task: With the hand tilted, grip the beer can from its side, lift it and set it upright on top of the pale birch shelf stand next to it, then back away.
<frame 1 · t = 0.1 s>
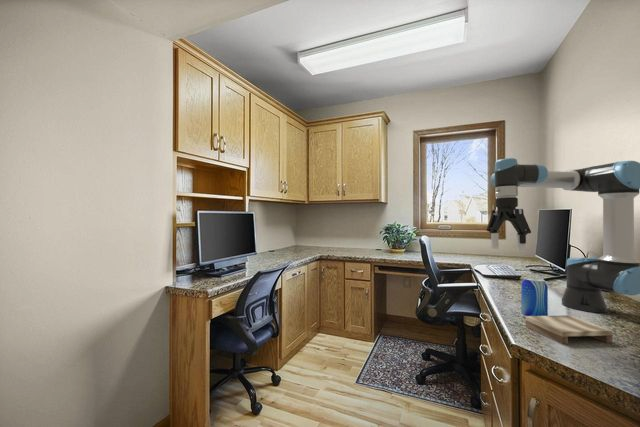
hand: (507, 250, 108), 28 cm above the table, tool pointing down, fingers open, 13 cm apart
beer can: (534, 318, 110), on the table
shelf stand: (566, 334, 95), on the table
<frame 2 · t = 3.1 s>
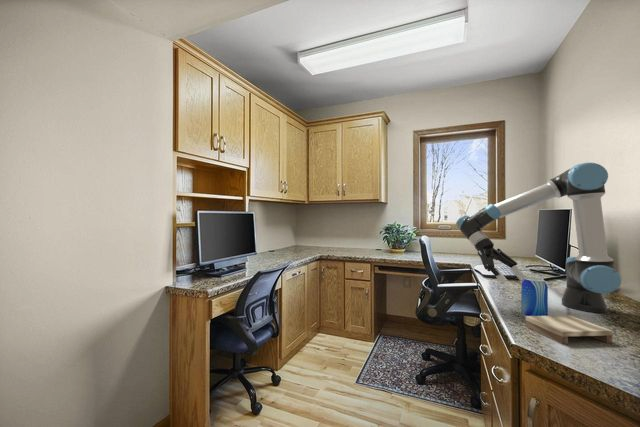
hand: (514, 280, 117), 14 cm above the table, tool tilted 45°, fingers open, 13 cm apart
nothing on the table moved.
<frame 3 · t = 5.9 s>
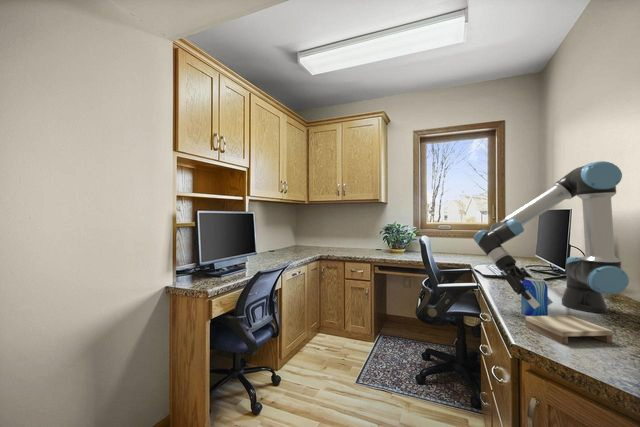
hand: (543, 305, 107), 6 cm above the table, tool tilted 45°, fingers closed on beer can, 8 cm apart
beer can: (534, 318, 110), on the table, touching gripper
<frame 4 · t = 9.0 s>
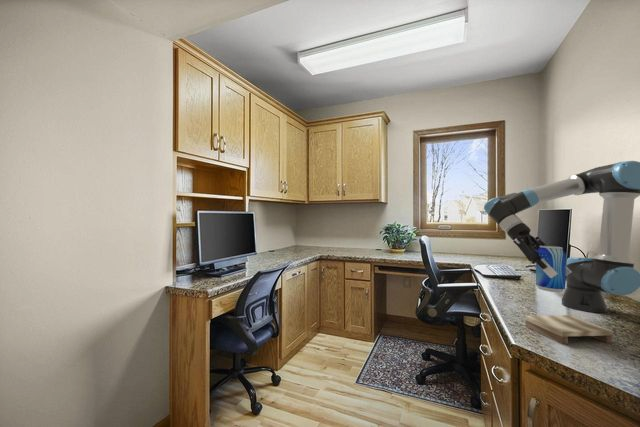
hand: (561, 275, 98), 20 cm above the table, tool tilted 45°, fingers closed on beer can, 8 cm apart
beer can: (549, 290, 101), point 14 cm above the table, touching gripper
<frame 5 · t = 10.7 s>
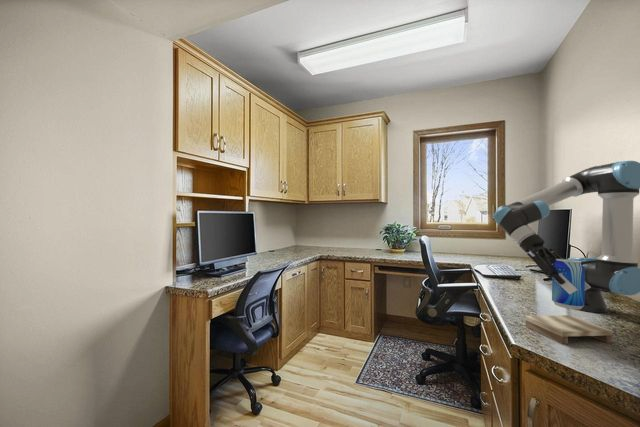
hand: (580, 290, 91), 16 cm above the table, tool tilted 45°, fingers closed on beer can, 8 cm apart
beer can: (567, 306, 94), point 10 cm above the table, touching gripper
when the fingers open (12 cm above the table, at t = 12.2 s): beer can drops 1 cm, resting on shelf stand.
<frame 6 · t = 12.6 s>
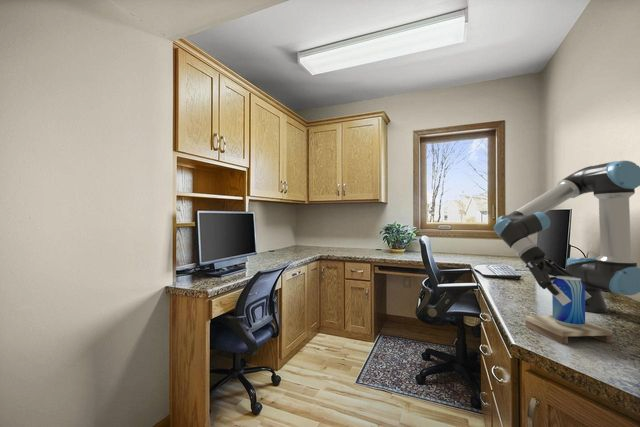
hand: (577, 301, 92), 13 cm above the table, tool tilted 45°, fingers open, 13 cm apart
beer can: (568, 324, 94), point 4 cm above the table, touching shelf stand
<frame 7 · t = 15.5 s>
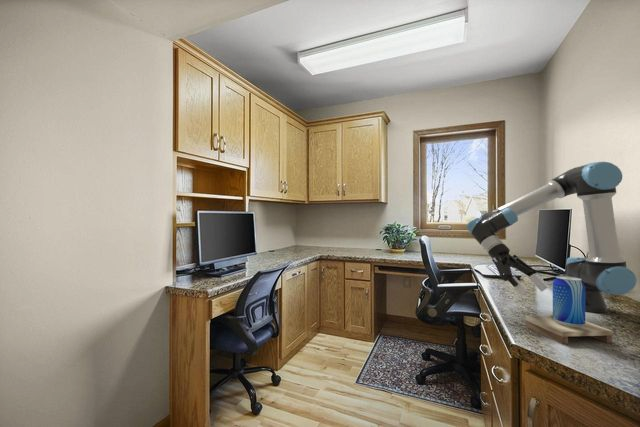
hand: (534, 291, 104), 13 cm above the table, tool tilted 45°, fingers open, 13 cm apart
nothing on the table moved.
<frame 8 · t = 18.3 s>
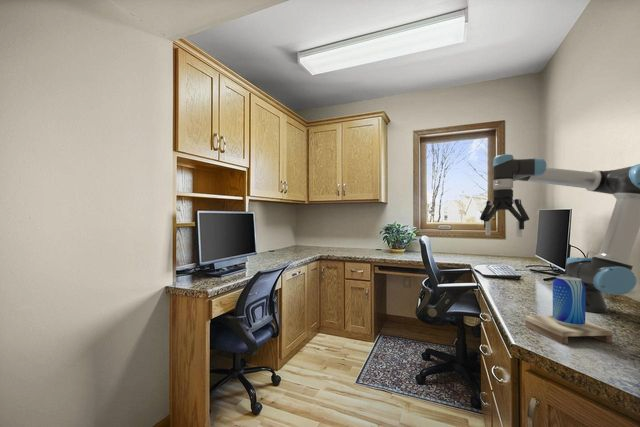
hand: (502, 236, 122), 33 cm above the table, tool pointing down, fingers open, 13 cm apart
nothing on the table moved.
at the end: beer can inside the target area on the shelf stand (0.8 cm from its centre), point 3.8 cm above the shelf stand's base; beer can tilted 0°; the gripper is holding nothing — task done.
